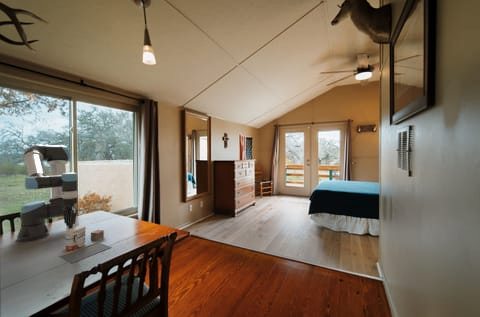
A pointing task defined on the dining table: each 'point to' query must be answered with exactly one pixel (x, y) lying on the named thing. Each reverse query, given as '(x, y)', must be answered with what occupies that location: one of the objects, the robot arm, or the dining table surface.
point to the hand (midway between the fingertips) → (69, 234)
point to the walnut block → (97, 235)
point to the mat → (84, 252)
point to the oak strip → (79, 248)
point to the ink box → (75, 238)
